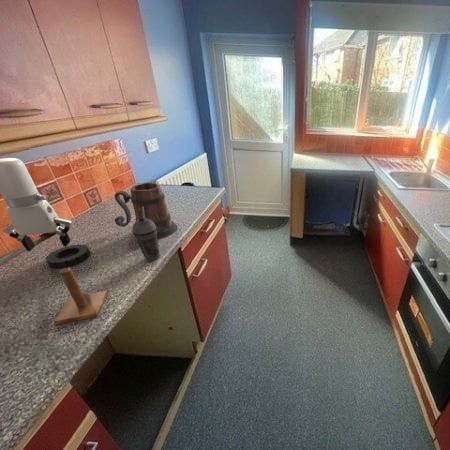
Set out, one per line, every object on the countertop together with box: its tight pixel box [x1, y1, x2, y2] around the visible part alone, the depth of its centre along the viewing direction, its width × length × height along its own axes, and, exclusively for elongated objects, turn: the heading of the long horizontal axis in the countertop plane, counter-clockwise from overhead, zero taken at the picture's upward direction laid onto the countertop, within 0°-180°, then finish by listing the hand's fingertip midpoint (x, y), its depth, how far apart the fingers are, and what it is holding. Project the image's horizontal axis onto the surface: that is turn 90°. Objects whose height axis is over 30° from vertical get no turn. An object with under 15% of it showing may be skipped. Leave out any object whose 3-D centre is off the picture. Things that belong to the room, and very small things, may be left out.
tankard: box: [114, 182, 178, 240], centre depth 103 cm, size 24×17×20 cm
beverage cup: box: [132, 207, 161, 262], centre depth 86 cm, size 7×7×20 cm
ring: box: [45, 244, 92, 270], centre depth 88 cm, size 11×11×2 cm
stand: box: [53, 267, 109, 325], centre depth 66 cm, size 9×9×13 cm
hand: (49, 246), depth 84 cm, fingers open, 9 cm apart
